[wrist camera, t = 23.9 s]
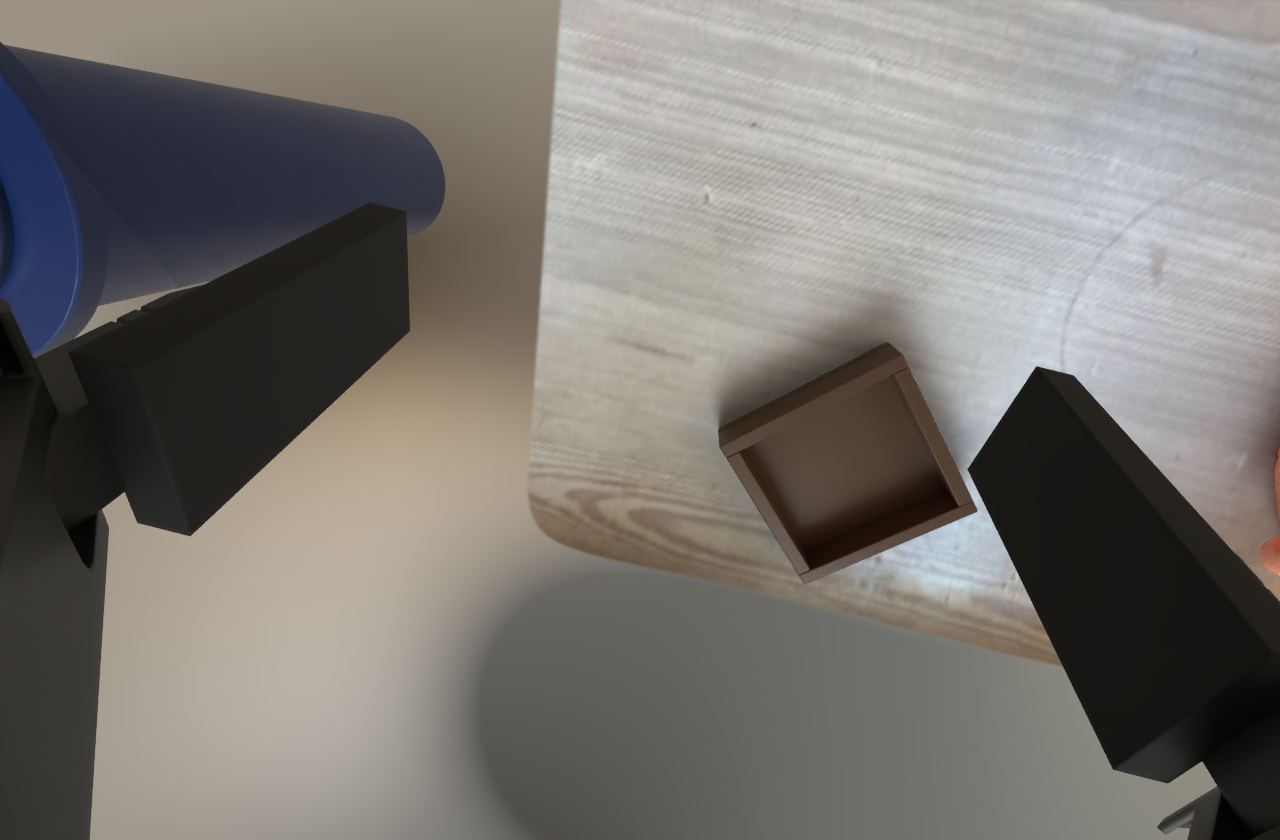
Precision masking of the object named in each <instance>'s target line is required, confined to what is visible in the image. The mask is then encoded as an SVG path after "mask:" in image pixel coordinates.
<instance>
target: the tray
mask: <svg viewBox="0 0 1280 840" xmlns="http://www.w3.org/2000/svg"><path fill="white" fill-rule="evenodd" d="M718 434H719V445H720V449H721V450H722V452H723V453H724V455H725V457H726V458H727V460H728V462H729V463H730V465H731V466H732V468H733V470H734V471H735V473H736V474H737V476H738V478H739V479H740V481H741V483H742V484H743V486H744V487H745V489H746V491H747V492H748V494H749V496H750V497H751V499H752V500H753V502H754V504H755V505H756V507H757V509H758V510H759V512H760V513H761V515H762V517H763V518H764V520H765V522H766V523H767V525H768V526H769V528H770V530H771V531H772V533H773V535H774V536H775V538H776V539H777V541H778V543H779V544H780V546H781V548H782V549H783V551H784V552H785V554H786V556H787V557H788V559H789V561H790V562H791V564H792V565H793V567H794V569H795V570H796V572H797V573H798V575H799V577H800V578H801V580H802V581H803V583H804V584H807V583H809V582H811V581H814V580H816V579H819V578H821V577H823V576H826V575H828V574H830V573H833V572H835V571H838V570H840V569H842V568H845V567H847V566H849V565H852V564H854V563H857V562H859V561H861V560H864V559H866V558H868V557H871V556H873V555H876V554H878V553H880V552H883V551H885V550H887V549H890V548H892V547H895V546H897V545H899V544H902V543H904V542H906V541H909V540H911V539H914V538H916V537H918V536H921V535H923V534H925V533H928V532H930V531H933V530H935V529H937V528H940V527H942V526H944V525H947V524H949V523H952V522H954V521H956V520H959V519H961V518H963V517H966V516H968V515H971V514H973V513H975V512H977V508H976V506H975V504H974V502H973V501H972V498H971V496H970V493H969V491H968V489H967V487H966V485H965V483H964V481H963V479H962V477H961V475H960V473H959V471H958V469H957V466H956V464H955V462H954V460H953V458H952V456H951V454H950V452H949V450H948V448H947V446H946V444H945V442H944V439H943V437H942V435H941V433H940V431H939V429H938V427H937V425H936V423H935V421H934V419H933V417H932V415H931V412H930V410H929V408H928V406H927V404H926V402H925V400H924V398H923V396H922V394H921V392H920V390H919V388H918V385H917V383H916V381H915V379H914V377H913V375H912V373H911V371H910V369H909V367H908V365H907V363H906V361H905V358H904V356H903V354H901V353H900V352H899V351H898V350H897V349H896V348H895V347H893V346H892V345H891V344H890V343H889V342H887V343H885V344H883V345H881V346H879V347H877V348H875V349H873V350H871V351H869V352H867V353H865V354H863V355H861V356H860V357H858V358H856V359H854V360H852V361H850V362H848V363H846V364H844V365H842V366H840V367H838V368H836V369H834V370H832V371H831V372H829V373H827V374H825V375H823V376H821V377H819V378H817V379H815V380H813V381H811V382H809V383H807V384H805V385H803V386H802V387H800V388H798V389H796V390H794V391H792V392H790V393H788V394H786V395H784V396H782V397H780V398H778V399H776V400H774V401H772V402H771V403H769V404H767V405H765V406H763V407H761V408H759V409H757V410H755V411H753V412H751V413H749V414H747V415H745V416H743V417H742V418H740V419H738V420H736V421H734V422H732V423H730V424H728V425H726V426H724V427H722V428H720V429H719V430H718Z"/></svg>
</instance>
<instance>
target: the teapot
mask: <svg viewBox="0 0 1280 840" xmlns="http://www.w3.org/2000/svg"><path fill="white" fill-rule="evenodd" d="M1278 458H1279V459H1278V460H1277V462H1276V466H1275V491H1276V499H1277V508H1278V514H1279V521H1280V447H1279V449H1278ZM1260 558H1261V560H1262V563H1263V564H1264V566H1265V567H1266V568H1267V569H1268V570H1269V571H1271V572H1272V573H1274V574H1276V575H1279V576H1280V535H1279V536H1276V537H1274V538H1272V539H1270V540H1269V541H1267V542H1266V543H1265V544H1264V545H1263V546H1262V548H1261V552H1260Z"/></svg>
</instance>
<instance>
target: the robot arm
mask: <svg viewBox="0 0 1280 840" xmlns="http://www.w3.org/2000/svg"><path fill="white" fill-rule="evenodd" d="M13 255H14V228H13V220H12V215H11V211H10V206H9V203H8V200H7V196H6V193H5V191H4V188H3V185H2V183H1V180H0V289H1V287H2V286H3V284H4V283H5V281H6V279H7V277H8V274H9V271H10V268H11V265H12V260H13ZM409 331H410V323H409V289H408V254H407V221H406V211H402V210H398V209H394V208H390V207H386V206H382V205H378V204H374V203H368V204H366V205H364V206H362V207H360V208H358V209H356V210H354V211H352V212H350V213H348V214H346V215H344V216H342V217H340V218H338V219H336V220H334V221H332V222H330V223H328V224H326V225H324V226H322V227H320V228H318V229H316V230H314V231H311V232H309V233H307V234H305V235H303V236H301V237H299V238H297V239H295V240H293V241H291V242H289V243H287V244H285V245H283V246H281V247H279V248H277V249H275V250H273V251H271V252H269V253H267V254H265V255H263V256H261V257H259V258H257V259H255V260H253V261H251V262H249V263H247V264H245V265H243V266H241V267H239V268H237V269H235V270H233V271H231V272H229V273H227V274H225V275H223V276H221V277H219V278H217V279H215V280H213V281H211V282H209V283H207V284H205V285H202V286H197V287H193V288H189V289H185V290H181V291H176V292H172V293H169V294H167V295H165V296H163V297H161V298H158V299H156V300H154V301H152V302H150V303H148V304H146V305H144V306H142V307H141V310H140V311H139V310H133V311H131V312H129V313H127V314H125V315H123V316H121V317H119V318H117V322H116V323H115V322H109V323H107V324H104V325H102V326H100V327H98V328H96V329H94V330H92V331H90V332H88V333H86V334H84V335H82V336H80V337H77V338H75V339H73V340H71V341H69V342H67V343H65V344H63V345H61V346H59V347H57V348H55V349H52V350H50V351H48V352H46V353H44V354H42V355H40V356H38V357H36V358H34V357H33V355H32V352H31V350H30V348H29V346H28V343H27V341H26V339H25V337H24V334H23V332H22V330H21V328H20V325H19V323H18V321H17V319H16V316H15V314H14V312H13V310H12V307H11V305H10V303H9V302H8V301H6V300H4V299H2V298H0V840H89V838H90V821H91V807H92V790H93V775H94V759H95V743H96V727H97V710H98V695H99V679H100V662H101V647H102V646H101V645H102V630H103V615H104V613H103V612H104V598H105V583H106V566H107V551H108V550H107V549H108V535H109V527H108V524H107V522H106V518H105V516H104V514H103V511H102V508H104V507H105V506H106V505H108V504H109V503H110V502H112V501H113V500H114V499H116V498H117V497H118V496H119V495H121V494H122V493H123V492H125V493H126V496H127V498H128V501H129V503H130V506H131V508H132V510H133V513H134V516H135V518H136V521H137V523H140V524H144V525H148V526H152V527H156V528H160V529H164V530H168V531H172V532H176V533H180V534H183V535H188V536H191V535H192V534H193V533H194V532H195V531H196V530H198V528H200V527H201V526H202V525H203V524H204V523H205V522H206V521H207V520H208V519H209V518H210V517H211V516H212V515H214V514H215V513H216V512H217V511H218V510H219V509H220V508H221V507H222V506H223V505H224V504H225V503H226V502H227V501H229V500H230V499H231V498H232V497H233V496H234V495H235V494H236V493H237V492H238V491H239V490H240V489H241V488H242V487H243V486H244V485H245V484H247V483H248V482H249V481H250V480H251V479H252V478H253V477H254V476H255V475H256V474H257V473H258V472H260V471H261V470H262V469H263V468H264V467H265V466H266V465H267V464H268V463H269V462H270V461H271V460H272V459H273V458H274V457H276V456H277V455H278V454H279V453H280V452H281V451H282V450H283V449H284V448H285V447H286V446H287V445H288V444H289V443H291V442H292V441H293V440H294V439H295V438H296V437H297V436H298V435H299V434H300V433H301V432H302V431H303V430H304V429H306V428H307V427H308V426H309V425H310V424H311V423H312V422H313V421H314V420H315V419H316V418H317V417H318V416H319V415H320V414H321V413H322V412H324V411H325V410H326V409H327V408H328V407H329V406H330V405H331V404H332V403H333V402H334V401H335V400H337V399H338V398H339V397H340V396H341V395H342V394H343V393H344V392H345V391H346V390H347V389H348V388H349V387H350V386H351V385H353V384H354V383H355V381H357V380H358V379H359V378H360V377H361V376H362V375H363V374H364V373H365V372H366V371H368V369H370V368H371V367H372V366H373V365H374V364H375V363H376V362H377V361H378V360H379V359H380V358H381V357H382V356H383V355H385V354H386V353H387V352H388V351H389V350H390V349H391V348H392V347H393V346H394V345H395V344H396V343H397V342H399V340H401V339H402V338H403V337H404V336H405V335H406V334H407V333H408V332H409ZM968 471H969V473H970V475H971V477H972V480H973V482H974V484H975V486H976V488H977V490H978V492H979V494H980V496H981V498H982V500H983V502H984V504H985V506H986V508H987V510H988V513H989V515H990V517H991V519H992V521H993V523H994V525H995V527H996V529H997V531H998V533H999V535H1000V537H1001V539H1002V541H1003V543H1004V546H1005V548H1006V550H1007V552H1008V554H1009V556H1010V558H1011V560H1012V562H1013V564H1014V566H1015V568H1016V570H1017V572H1018V574H1019V576H1020V579H1021V581H1022V583H1023V585H1024V587H1025V589H1026V591H1027V593H1028V595H1029V597H1030V599H1031V601H1032V603H1033V605H1034V607H1035V610H1036V612H1037V614H1038V616H1039V618H1040V620H1041V622H1042V624H1043V626H1044V628H1045V630H1046V632H1047V634H1048V636H1049V638H1050V640H1051V643H1052V645H1053V647H1054V649H1055V651H1056V653H1057V655H1058V657H1059V659H1060V661H1061V663H1062V665H1063V667H1064V669H1065V671H1066V673H1067V675H1068V677H1069V679H1070V681H1071V683H1072V686H1073V688H1074V690H1075V692H1076V694H1077V696H1078V698H1079V700H1080V702H1081V704H1082V706H1083V709H1084V711H1085V713H1086V715H1087V717H1088V719H1089V721H1090V723H1091V725H1092V727H1093V729H1094V731H1095V733H1096V735H1097V737H1098V739H1099V741H1100V743H1101V745H1102V748H1103V750H1104V752H1105V754H1106V756H1107V758H1108V760H1109V762H1110V764H1111V766H1112V768H1113V769H1114V770H1117V771H1121V772H1124V773H1128V774H1132V775H1136V776H1140V777H1144V778H1148V779H1152V780H1156V781H1161V782H1164V783H1169V782H1171V781H1173V780H1174V779H1176V778H1177V777H1179V776H1180V775H1182V774H1183V773H1185V772H1186V771H1188V770H1189V769H1191V768H1192V767H1194V766H1195V765H1197V764H1198V763H1200V762H1202V761H1203V763H1204V764H1205V766H1206V768H1207V769H1208V771H1209V773H1210V774H1211V776H1212V778H1213V779H1214V781H1215V783H1216V784H1217V787H1216V788H1214V789H1212V790H1211V791H1209V792H1207V793H1206V794H1204V795H1202V796H1201V797H1199V798H1197V799H1196V800H1194V801H1193V802H1191V803H1189V804H1188V805H1186V806H1184V807H1183V808H1181V809H1179V810H1178V811H1176V812H1174V813H1173V814H1171V815H1170V816H1168V817H1166V818H1165V819H1164V820H1163V821H1162V822H1161V823H1160V824H1159V825H1158V827H1157V828H1158V829H1160V830H1161V831H1162V832H1163V833H1164V834H1168V833H1170V832H1171V831H1173V830H1175V829H1176V828H1178V827H1180V828H1189V829H1190V832H1189V836H1188V840H1280V601H1279V600H1278V599H1277V598H1276V597H1275V596H1274V595H1273V594H1272V592H1271V591H1270V590H1269V589H1266V587H1265V586H1264V585H1263V583H1262V581H1261V580H1260V579H1259V578H1258V577H1257V576H1256V575H1255V574H1254V573H1253V572H1252V570H1251V569H1250V568H1249V567H1248V566H1247V565H1246V564H1245V563H1244V562H1243V560H1242V559H1241V558H1240V557H1239V556H1238V555H1236V554H1235V553H1234V552H1233V551H1232V550H1231V549H1230V548H1229V547H1228V545H1227V544H1226V543H1225V542H1224V541H1223V540H1222V539H1221V538H1220V537H1219V536H1218V534H1217V533H1216V532H1215V531H1214V530H1213V529H1212V528H1211V527H1210V526H1209V524H1208V523H1207V522H1206V521H1205V520H1204V519H1203V518H1202V517H1201V516H1200V515H1199V513H1198V512H1197V511H1196V510H1195V509H1194V508H1193V507H1192V506H1191V505H1190V503H1189V502H1188V501H1187V500H1186V499H1185V498H1184V497H1183V496H1182V495H1181V494H1180V492H1179V491H1178V490H1177V489H1176V488H1175V487H1174V486H1173V485H1172V484H1171V482H1170V481H1169V480H1168V479H1167V478H1166V477H1165V476H1164V475H1163V474H1162V473H1161V471H1160V470H1159V469H1158V468H1157V467H1156V466H1155V465H1154V464H1153V463H1152V461H1151V460H1150V459H1149V458H1148V457H1147V456H1146V455H1145V454H1144V453H1143V452H1142V450H1141V449H1140V448H1139V447H1138V446H1137V445H1136V444H1135V443H1134V442H1133V441H1132V439H1131V438H1130V437H1129V436H1128V435H1127V434H1126V433H1125V432H1124V431H1123V429H1122V428H1121V427H1120V426H1119V425H1118V424H1117V423H1116V422H1115V421H1114V420H1113V418H1112V417H1111V416H1110V415H1109V414H1108V413H1107V412H1106V411H1105V410H1104V408H1103V407H1102V406H1101V405H1100V404H1099V403H1098V402H1097V401H1096V400H1095V399H1094V397H1093V396H1092V395H1091V394H1090V393H1089V392H1088V391H1087V390H1086V389H1085V387H1084V386H1083V385H1082V384H1081V383H1080V382H1079V381H1078V380H1077V379H1076V378H1075V376H1074V375H1069V374H1065V373H1061V372H1057V371H1053V370H1049V369H1045V368H1041V367H1037V366H1036V368H1035V369H1034V371H1033V372H1032V374H1031V375H1030V377H1029V378H1028V380H1027V381H1026V383H1025V384H1024V386H1023V387H1022V389H1021V390H1020V392H1019V393H1018V395H1017V396H1016V398H1015V399H1014V401H1013V402H1012V404H1011V405H1010V407H1009V408H1008V410H1007V411H1006V413H1005V414H1004V416H1003V417H1002V419H1001V420H1000V422H999V423H998V425H997V426H996V428H995V429H994V431H993V432H992V434H991V435H990V437H989V438H988V440H987V441H986V442H985V444H984V445H983V447H982V448H981V450H980V451H979V453H978V454H977V456H976V457H975V459H974V460H973V462H972V463H971V465H970V466H969V468H968Z"/></svg>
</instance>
